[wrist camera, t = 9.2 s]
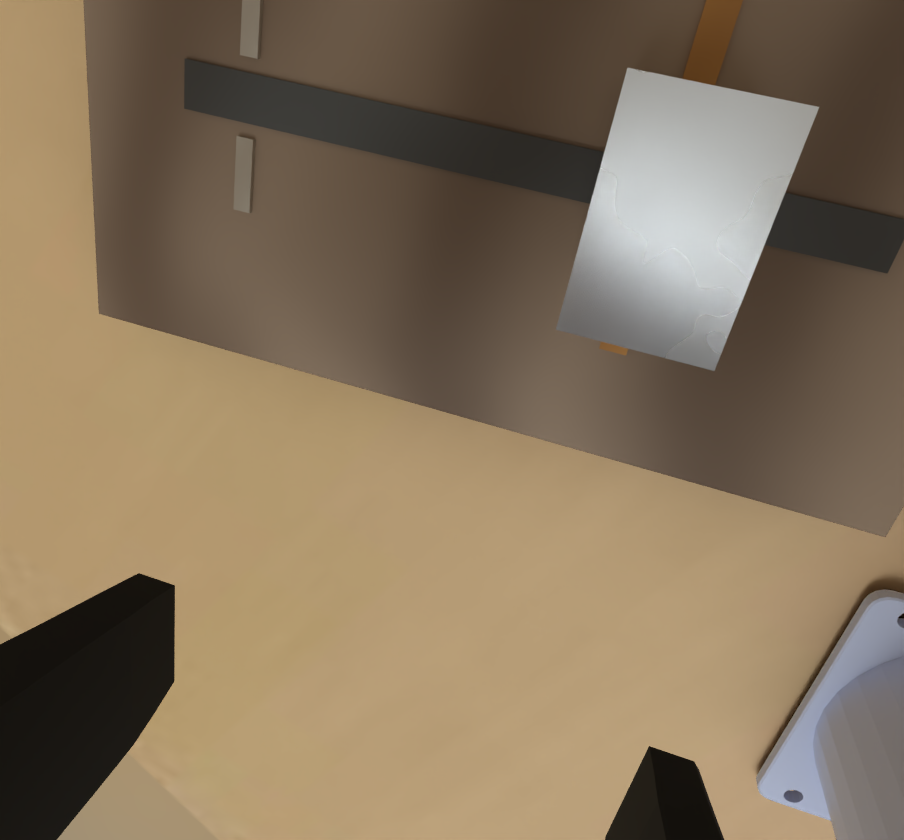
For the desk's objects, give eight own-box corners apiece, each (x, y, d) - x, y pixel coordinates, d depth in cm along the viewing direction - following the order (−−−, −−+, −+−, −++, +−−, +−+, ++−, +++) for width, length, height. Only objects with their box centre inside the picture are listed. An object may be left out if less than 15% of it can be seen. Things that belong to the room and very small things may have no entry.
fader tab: (761, 107, 12) (819, 106, 8) (692, 298, 14) (714, 371, 10) (629, 80, 13) (627, 67, 9) (577, 269, 14) (555, 329, 10)
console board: (1200, -93, 11) (1283, -123, 10) (865, 503, 17) (887, 540, 15) (122, -262, 14) (64, -304, 12) (135, 299, 19) (95, 314, 18)
